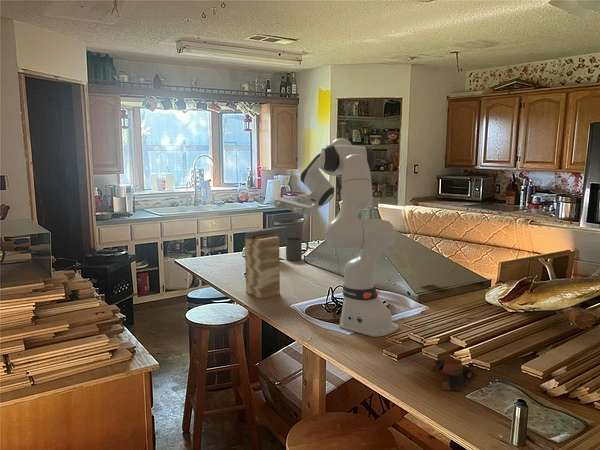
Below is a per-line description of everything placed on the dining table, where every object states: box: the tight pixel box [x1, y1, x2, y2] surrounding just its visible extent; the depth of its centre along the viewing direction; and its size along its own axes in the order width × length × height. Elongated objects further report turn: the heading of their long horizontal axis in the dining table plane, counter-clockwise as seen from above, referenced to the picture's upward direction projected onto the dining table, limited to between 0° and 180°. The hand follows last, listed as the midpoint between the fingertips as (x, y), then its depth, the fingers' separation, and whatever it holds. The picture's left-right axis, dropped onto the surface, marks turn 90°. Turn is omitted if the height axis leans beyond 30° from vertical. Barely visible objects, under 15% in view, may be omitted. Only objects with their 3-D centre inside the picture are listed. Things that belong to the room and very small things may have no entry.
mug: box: [285, 237, 309, 262], centre depth 280 cm, size 14×9×12 cm
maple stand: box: [244, 234, 281, 300], centre depth 214 cm, size 12×10×27 cm
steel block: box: [244, 225, 288, 240], centre depth 213 cm, size 3×21×3 cm, turn 130°
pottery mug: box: [432, 358, 478, 392], centre depth 134 cm, size 12×10×8 cm
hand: (285, 208), depth 214 cm, fingers open, 8 cm apart
